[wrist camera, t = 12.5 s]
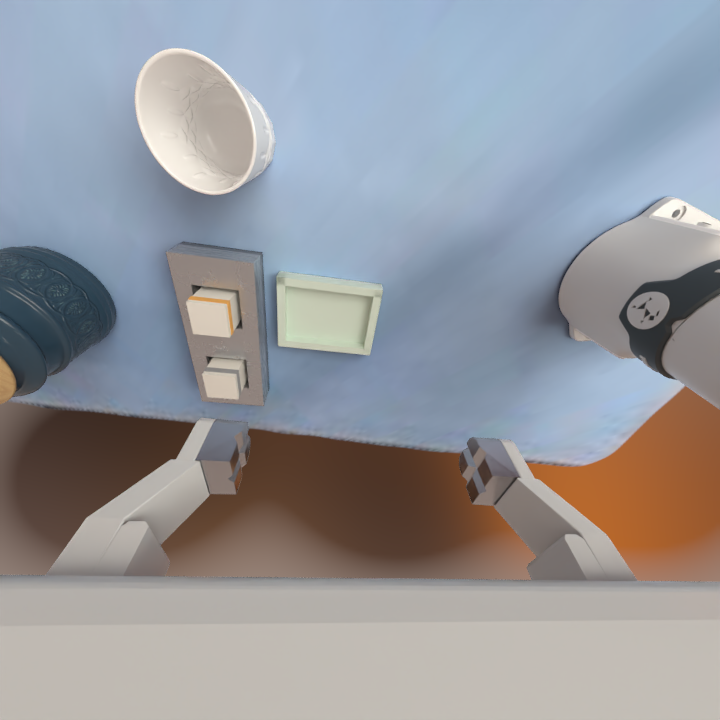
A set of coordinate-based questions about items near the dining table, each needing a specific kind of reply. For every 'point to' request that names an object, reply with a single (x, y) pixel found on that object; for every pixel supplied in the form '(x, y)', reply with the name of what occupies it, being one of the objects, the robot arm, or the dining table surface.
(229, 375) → the twin plug
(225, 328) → the plug
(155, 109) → the white cup
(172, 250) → the strip
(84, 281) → the canister
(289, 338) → the tray
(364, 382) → the dining table surface
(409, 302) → the dining table surface
